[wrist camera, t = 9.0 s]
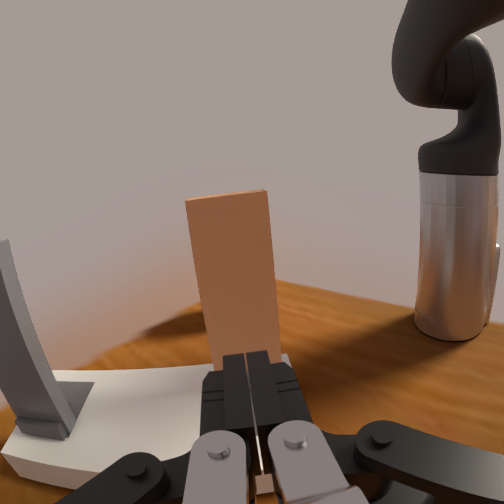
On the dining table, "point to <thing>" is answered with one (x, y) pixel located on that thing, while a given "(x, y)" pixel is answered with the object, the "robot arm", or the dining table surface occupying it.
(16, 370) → the graphite paddle
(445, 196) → the robot arm
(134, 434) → the switch console
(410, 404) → the dining table surface
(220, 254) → the orange block
